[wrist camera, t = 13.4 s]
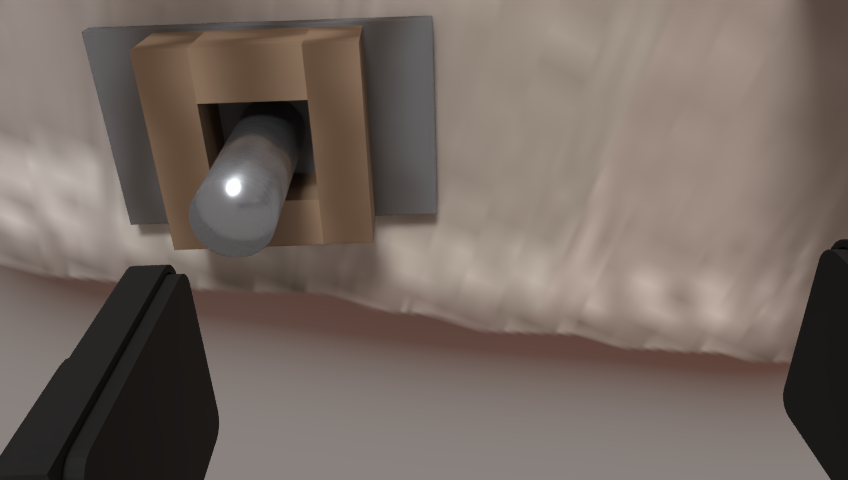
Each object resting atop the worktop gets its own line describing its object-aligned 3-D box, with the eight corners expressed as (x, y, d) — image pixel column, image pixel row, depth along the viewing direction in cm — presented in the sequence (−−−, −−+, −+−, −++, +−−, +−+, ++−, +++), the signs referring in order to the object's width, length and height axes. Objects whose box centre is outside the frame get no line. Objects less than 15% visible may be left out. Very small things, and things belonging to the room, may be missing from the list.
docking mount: (431, 15, 42) (434, 35, 38) (436, 206, 48) (439, 242, 44) (88, 27, 42) (51, 49, 37) (135, 217, 48) (108, 255, 43)
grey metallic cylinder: (302, 96, 43) (269, 179, 33) (309, 158, 45) (280, 255, 35) (235, 98, 43) (180, 182, 33) (245, 160, 45) (197, 258, 35)
